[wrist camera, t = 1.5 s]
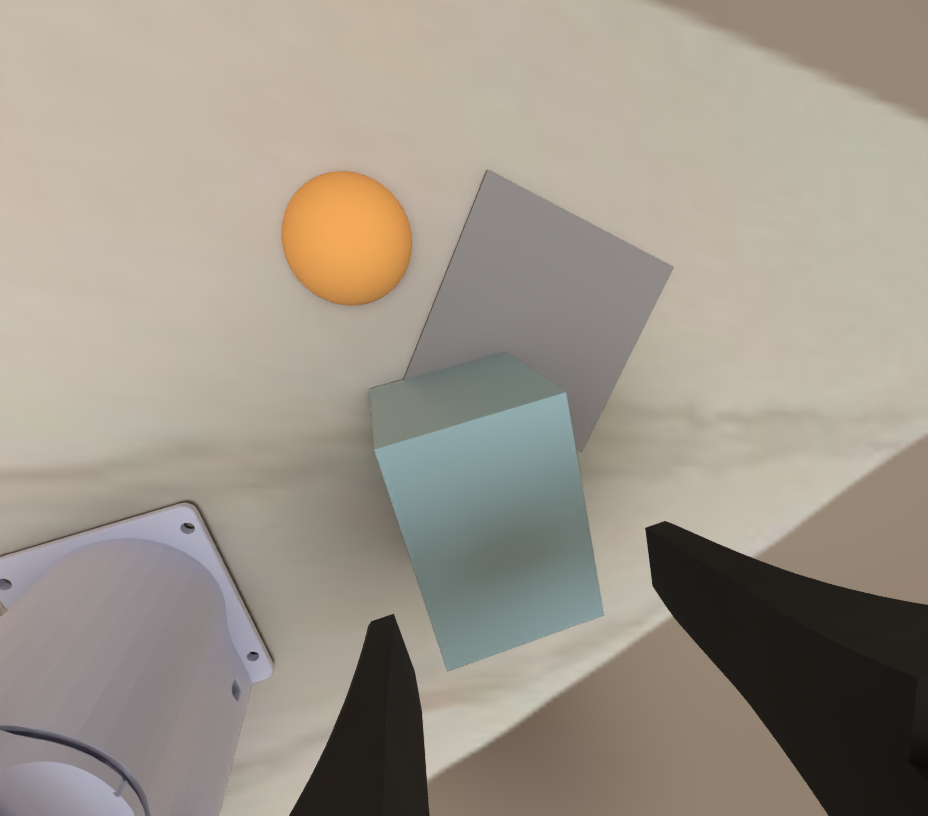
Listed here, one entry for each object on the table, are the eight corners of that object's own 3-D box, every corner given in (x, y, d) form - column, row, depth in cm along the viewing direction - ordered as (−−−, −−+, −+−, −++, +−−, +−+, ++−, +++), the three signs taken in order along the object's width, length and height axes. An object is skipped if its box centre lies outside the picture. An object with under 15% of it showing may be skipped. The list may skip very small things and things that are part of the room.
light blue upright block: (540, 521, 24) (604, 615, 18) (423, 559, 23) (447, 671, 17) (504, 350, 21) (565, 392, 15) (369, 388, 20) (373, 449, 14)
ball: (418, 283, 19) (433, 292, 15) (313, 311, 19) (301, 327, 15) (388, 168, 18) (396, 145, 14) (273, 195, 17) (248, 179, 13)
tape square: (670, 266, 21) (673, 267, 21) (580, 450, 23) (581, 451, 23) (486, 170, 19) (488, 169, 18) (400, 386, 20) (400, 387, 20)
